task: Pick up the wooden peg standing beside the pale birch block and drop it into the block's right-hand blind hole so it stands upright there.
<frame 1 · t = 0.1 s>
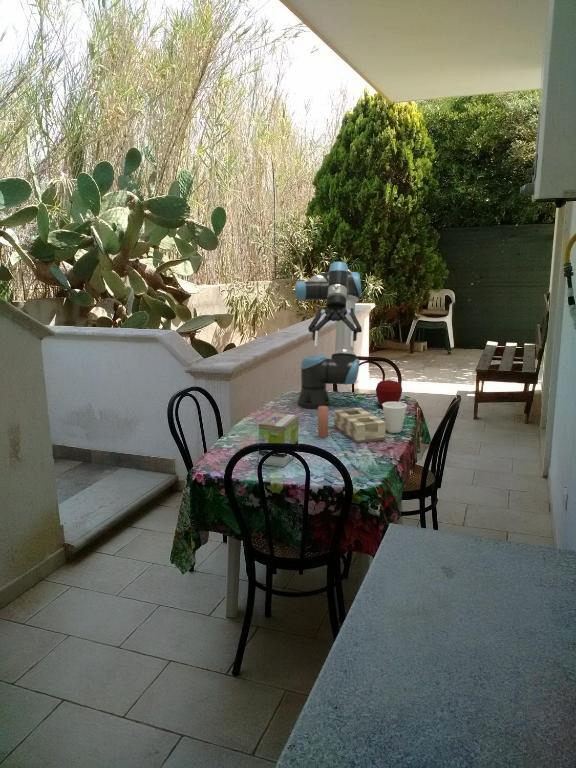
hand: (333, 347, 221), 36 cm above the table, tool tilted 35°, fingers open, 13 cm apart
cup: (393, 431, 237), on the table
tea box: (279, 459, 208), on the table
peg: (323, 436, 231), on the table
apple: (388, 407, 272), on the table
hole block: (358, 432, 235), on the table
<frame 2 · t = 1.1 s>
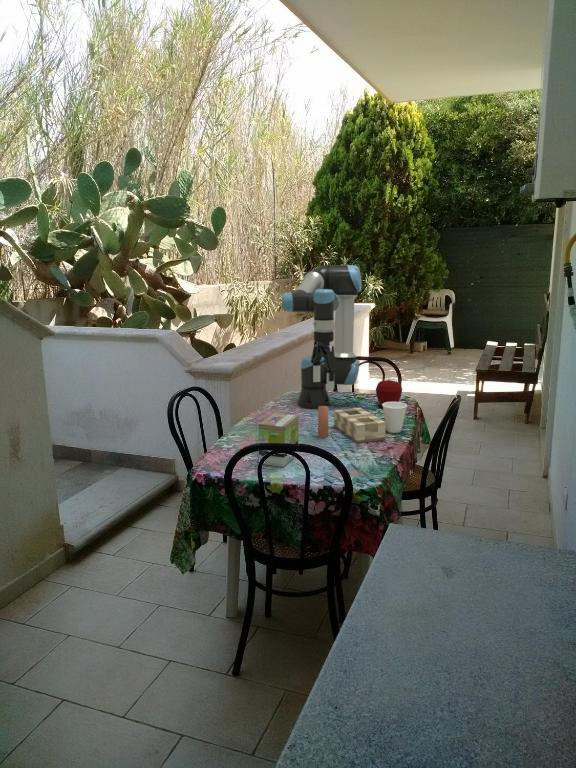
hand: (323, 385, 226), 21 cm above the table, tool pointing down, fingers open, 13 cm apart
nothing on the table moved.
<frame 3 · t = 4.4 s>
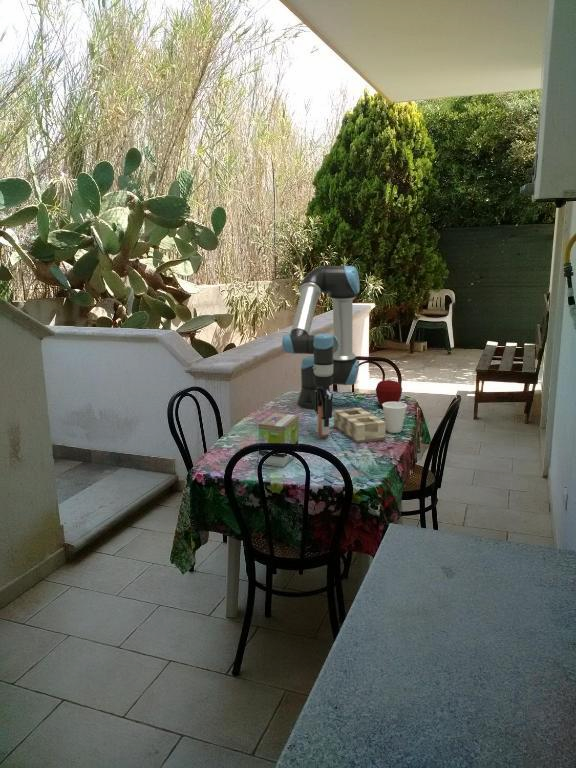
hand: (323, 432, 231), 2 cm above the table, tool pointing down, fingers closed on peg, 4 cm apart
peg: (323, 436, 231), on the table, touching gripper
everything else where it was.
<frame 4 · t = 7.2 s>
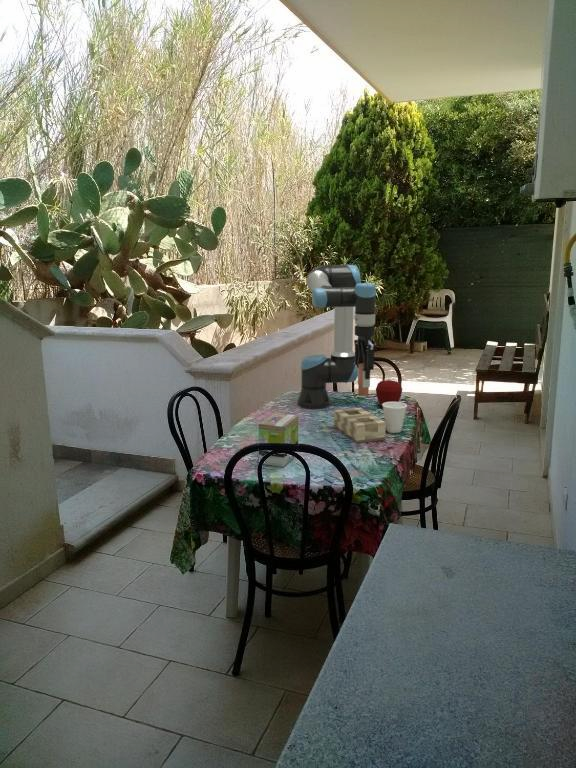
hand: (363, 385, 225), 21 cm above the table, tool pointing down, fingers closed on peg, 4 cm apart
peg: (363, 394, 226), point 17 cm above the table, touching gripper
everything else where it was.
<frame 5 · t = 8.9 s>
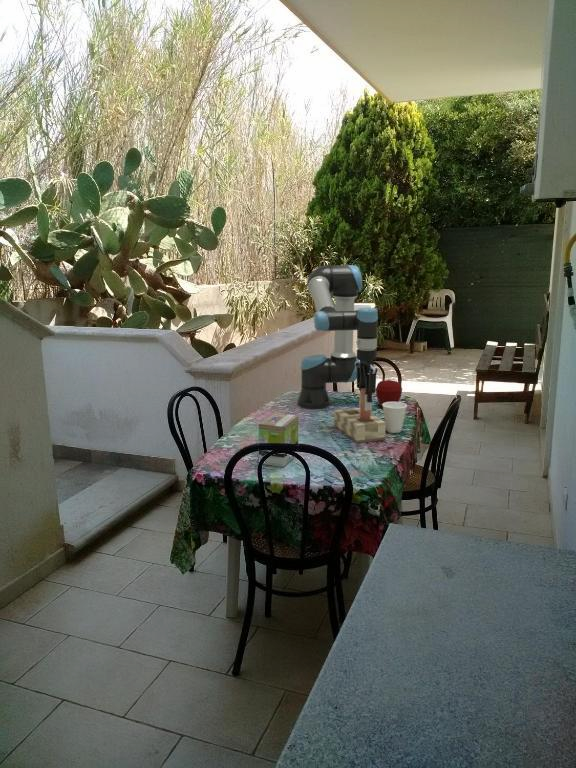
hand: (365, 408, 227), 12 cm above the table, tool pointing down, fingers closed on peg, 4 cm apart
peg: (365, 419, 228), point 7 cm above the table, touching gripper
everything else where it was.
when the fingers open (9 cm above the table, at t = 10.4 s): peg drops 4 cm, resting on hole block.
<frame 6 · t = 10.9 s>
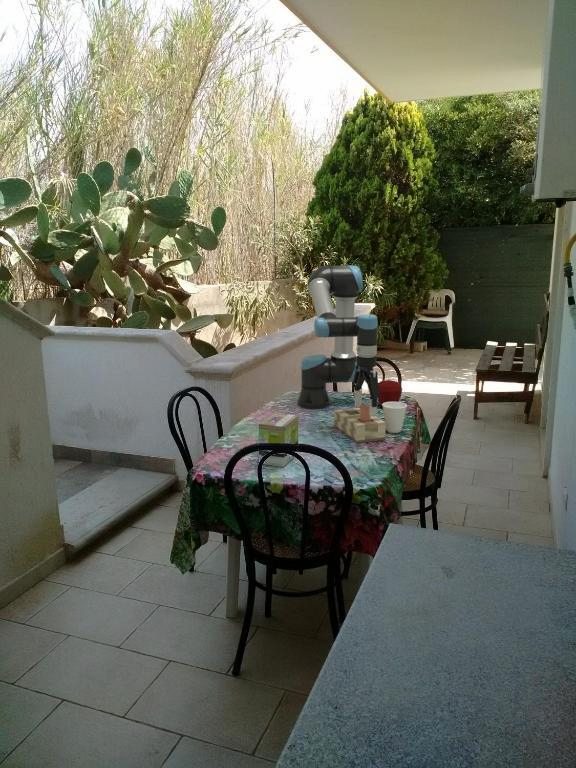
hand: (365, 410, 227), 11 cm above the table, tool pointing down, fingers open, 12 cm apart
peg: (365, 434, 229), point 1 cm above the table, touching hole block
everything else where it was.
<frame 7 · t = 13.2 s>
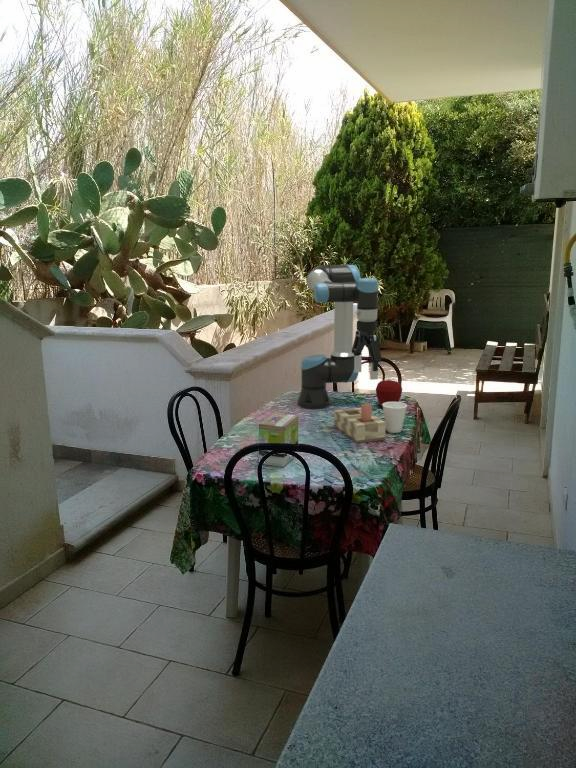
hand: (365, 375, 224), 25 cm above the table, tool pointing down, fingers open, 13 cm apart
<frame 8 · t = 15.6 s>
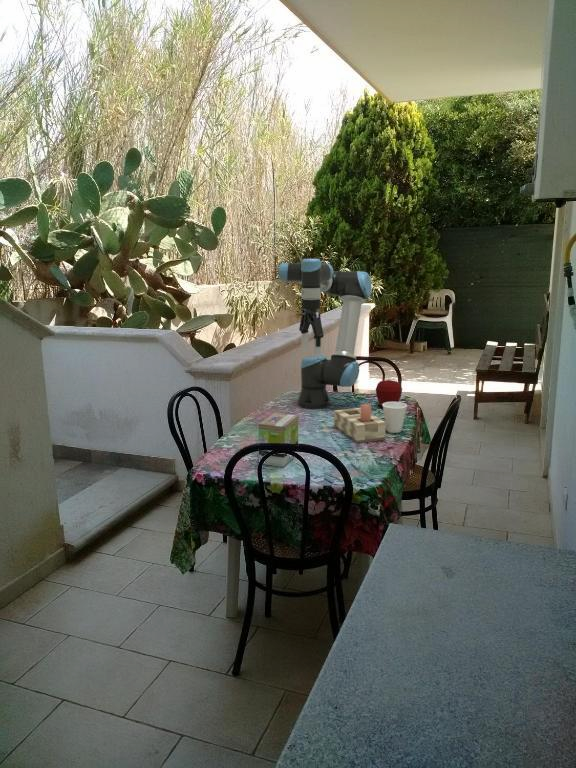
hand: (310, 351, 236), 32 cm above the table, tool pointing down, fingers open, 13 cm apart
nothing on the table moved.
at the end: peg 0.4 cm from the target spot on the hole block, point 1.1 cm above the hole block's base; peg tilted 3°; the gripper is holding nothing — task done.
